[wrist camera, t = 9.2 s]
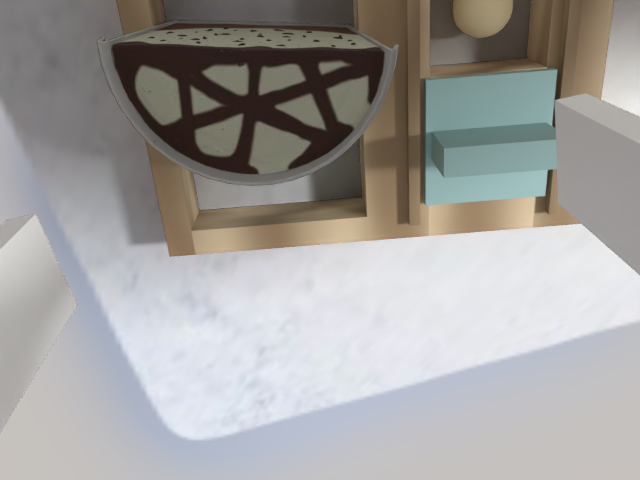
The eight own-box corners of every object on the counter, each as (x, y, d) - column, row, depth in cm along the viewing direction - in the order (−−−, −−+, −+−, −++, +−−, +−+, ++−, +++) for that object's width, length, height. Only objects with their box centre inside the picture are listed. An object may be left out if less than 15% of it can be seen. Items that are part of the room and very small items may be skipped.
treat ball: (504, -29, 31) (523, -27, 28) (501, 31, 32) (519, 38, 30) (447, -24, 31) (461, -22, 28) (446, 36, 32) (459, 43, 30)
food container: (156, 132, 34) (104, 195, 25) (145, 18, 31) (83, 43, 22) (369, 136, 35) (393, 199, 26) (376, 24, 32) (406, 51, 23)
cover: (553, 68, 30) (583, 81, 27) (541, 192, 33) (567, 217, 30) (424, 78, 30) (438, 92, 27) (423, 202, 33) (437, 228, 30)
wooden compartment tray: (601, -137, 29) (639, -149, 26) (563, 203, 37) (589, 227, 33) (114, -96, 29) (91, -103, 26) (179, 234, 37) (167, 261, 34)
